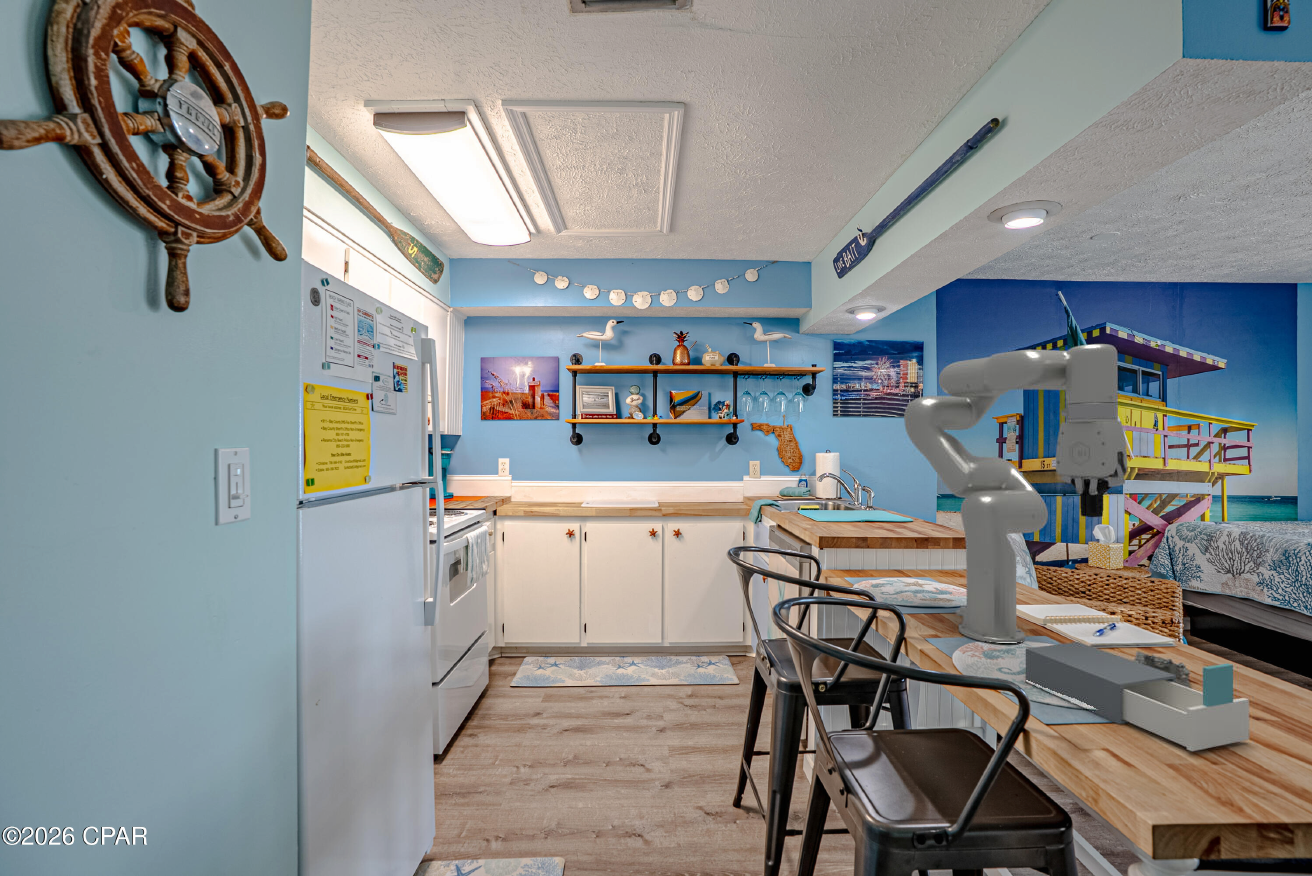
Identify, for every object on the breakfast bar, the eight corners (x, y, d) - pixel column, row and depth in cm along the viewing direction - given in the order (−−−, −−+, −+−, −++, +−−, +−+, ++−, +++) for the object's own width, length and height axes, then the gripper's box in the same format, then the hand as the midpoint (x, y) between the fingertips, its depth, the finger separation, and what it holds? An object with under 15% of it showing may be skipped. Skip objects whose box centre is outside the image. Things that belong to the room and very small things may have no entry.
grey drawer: (1074, 699, 96) (1074, 633, 96) (1126, 691, 99) (1126, 626, 99) (1191, 751, 80) (1191, 671, 80) (1249, 739, 83) (1248, 662, 83)
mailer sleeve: (1025, 682, 104) (1025, 648, 104) (1077, 674, 108) (1077, 641, 108) (1119, 724, 89) (1119, 684, 89) (1176, 713, 92) (1176, 675, 92)
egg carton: (1190, 699, 98) (1190, 675, 98) (1132, 686, 103) (1132, 663, 103) (1189, 679, 106) (1190, 656, 106) (1136, 668, 111) (1136, 646, 111)
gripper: (1037, 415, 112) (1037, 512, 112) (1118, 412, 98) (1119, 522, 98) (1067, 416, 114) (1068, 510, 114) (1151, 412, 100) (1152, 521, 100)
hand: (1091, 516), depth 106 cm, fingers closed
